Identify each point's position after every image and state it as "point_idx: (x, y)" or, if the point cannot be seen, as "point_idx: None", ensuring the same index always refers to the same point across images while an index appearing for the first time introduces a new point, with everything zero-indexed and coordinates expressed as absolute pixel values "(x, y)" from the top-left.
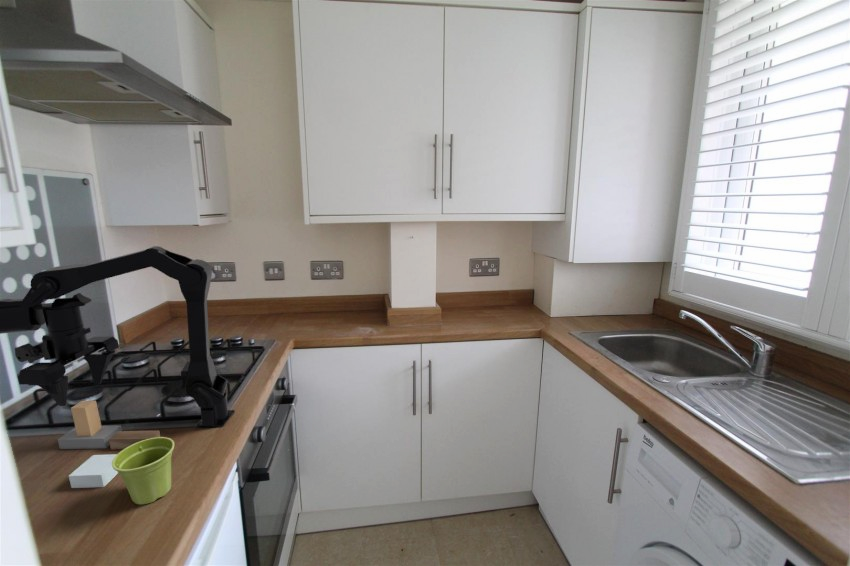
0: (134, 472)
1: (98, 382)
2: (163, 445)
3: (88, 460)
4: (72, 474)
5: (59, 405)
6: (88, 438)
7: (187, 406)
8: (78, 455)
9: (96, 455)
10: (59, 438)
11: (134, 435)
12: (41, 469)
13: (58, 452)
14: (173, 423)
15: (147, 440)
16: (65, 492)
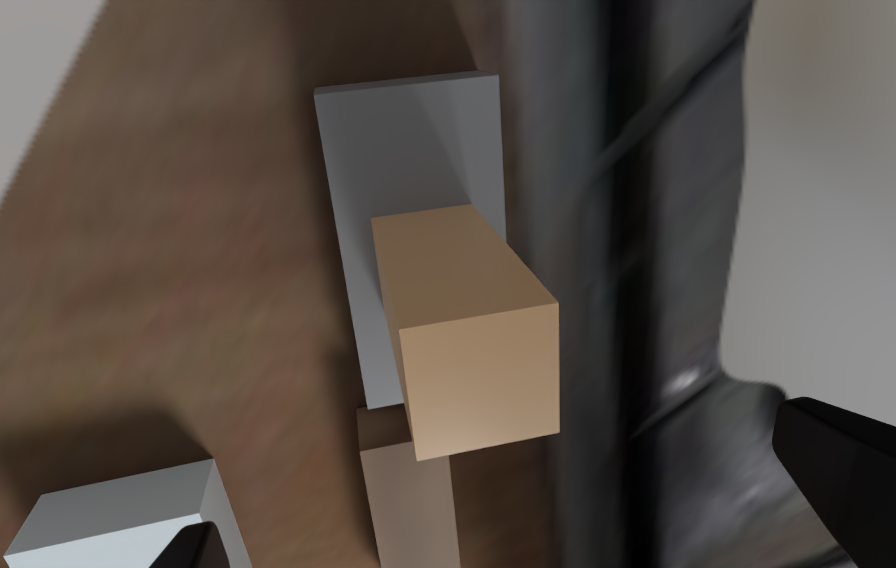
0: None
1: (793, 465)
2: None
3: (149, 533)
4: (22, 562)
5: (181, 535)
6: (357, 316)
7: (749, 456)
8: (276, 282)
9: None
10: (325, 101)
11: (412, 542)
12: (103, 184)
13: (278, 118)
14: (593, 508)
15: None
16: (5, 497)
